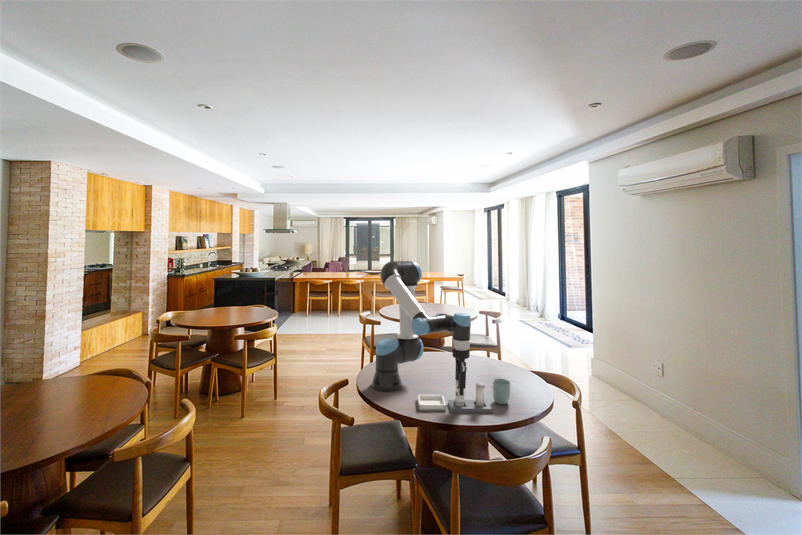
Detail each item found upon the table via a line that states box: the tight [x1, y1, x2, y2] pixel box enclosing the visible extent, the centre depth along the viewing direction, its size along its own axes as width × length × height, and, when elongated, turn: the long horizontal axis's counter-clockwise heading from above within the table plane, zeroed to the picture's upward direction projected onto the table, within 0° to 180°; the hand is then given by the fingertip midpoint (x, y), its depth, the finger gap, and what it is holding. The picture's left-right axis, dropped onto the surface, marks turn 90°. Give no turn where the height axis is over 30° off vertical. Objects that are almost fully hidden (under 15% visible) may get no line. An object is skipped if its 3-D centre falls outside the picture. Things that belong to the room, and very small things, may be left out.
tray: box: [417, 394, 447, 412], centre depth 160 cm, size 12×11×2 cm
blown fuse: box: [454, 379, 465, 407], centre depth 157 cm, size 4×4×11 cm
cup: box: [492, 378, 511, 405], centre depth 163 cm, size 8×8×10 cm
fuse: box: [475, 382, 486, 407], centre depth 157 cm, size 4×4×11 cm
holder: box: [448, 399, 494, 414], centre depth 157 cm, size 18×9×2 cm, turn 91°
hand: (459, 399), depth 157 cm, fingers closed on blown fuse, 4 cm apart
